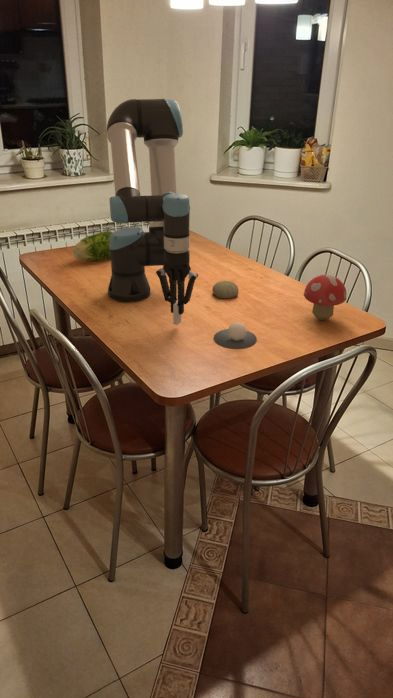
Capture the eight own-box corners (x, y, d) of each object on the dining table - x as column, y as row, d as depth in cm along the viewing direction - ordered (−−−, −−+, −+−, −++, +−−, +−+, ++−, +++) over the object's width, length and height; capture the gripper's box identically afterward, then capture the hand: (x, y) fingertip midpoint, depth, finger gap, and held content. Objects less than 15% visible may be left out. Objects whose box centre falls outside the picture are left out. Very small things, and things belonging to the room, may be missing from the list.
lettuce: (68, 262, 221) (65, 235, 216) (111, 252, 232) (109, 227, 227) (82, 269, 213) (79, 242, 208) (125, 259, 225) (124, 233, 219)
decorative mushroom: (350, 326, 168) (357, 282, 161) (310, 329, 166) (315, 285, 158) (332, 309, 180) (338, 267, 172) (295, 312, 177) (299, 270, 170)
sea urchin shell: (239, 296, 185) (223, 279, 183) (223, 309, 189) (207, 293, 187) (242, 286, 193) (227, 270, 191) (226, 299, 196) (212, 284, 195)
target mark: (207, 344, 157) (207, 343, 157) (221, 326, 167) (221, 325, 167) (249, 352, 152) (249, 351, 152) (261, 333, 163) (261, 332, 163)
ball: (227, 324, 155) (244, 331, 154) (233, 316, 159) (250, 323, 158) (223, 339, 158) (240, 346, 157) (229, 331, 162) (246, 338, 161)
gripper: (150, 250, 153) (153, 324, 164) (192, 256, 149) (192, 331, 160) (161, 243, 159) (163, 314, 170) (202, 248, 155) (201, 321, 166)
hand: (177, 322), depth 165 cm, fingers closed
